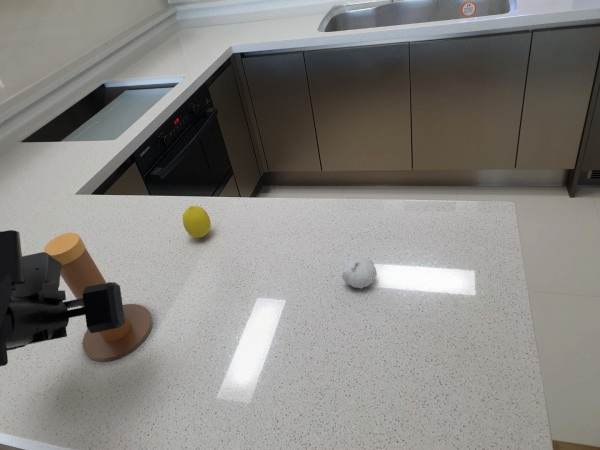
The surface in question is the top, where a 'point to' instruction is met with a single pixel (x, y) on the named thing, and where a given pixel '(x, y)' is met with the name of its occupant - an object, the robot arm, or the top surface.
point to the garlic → (359, 273)
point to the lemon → (196, 221)
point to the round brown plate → (125, 345)
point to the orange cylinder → (81, 273)
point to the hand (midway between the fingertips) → (83, 314)
